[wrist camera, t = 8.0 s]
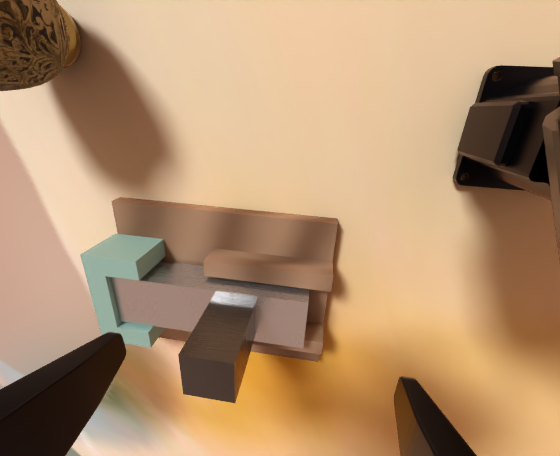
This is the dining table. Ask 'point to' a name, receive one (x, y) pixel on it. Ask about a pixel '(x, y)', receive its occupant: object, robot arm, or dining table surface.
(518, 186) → the robot arm
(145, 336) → the socket block
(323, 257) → the slide base
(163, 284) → the grey t-shaped block
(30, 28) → the cup
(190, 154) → the dining table surface
